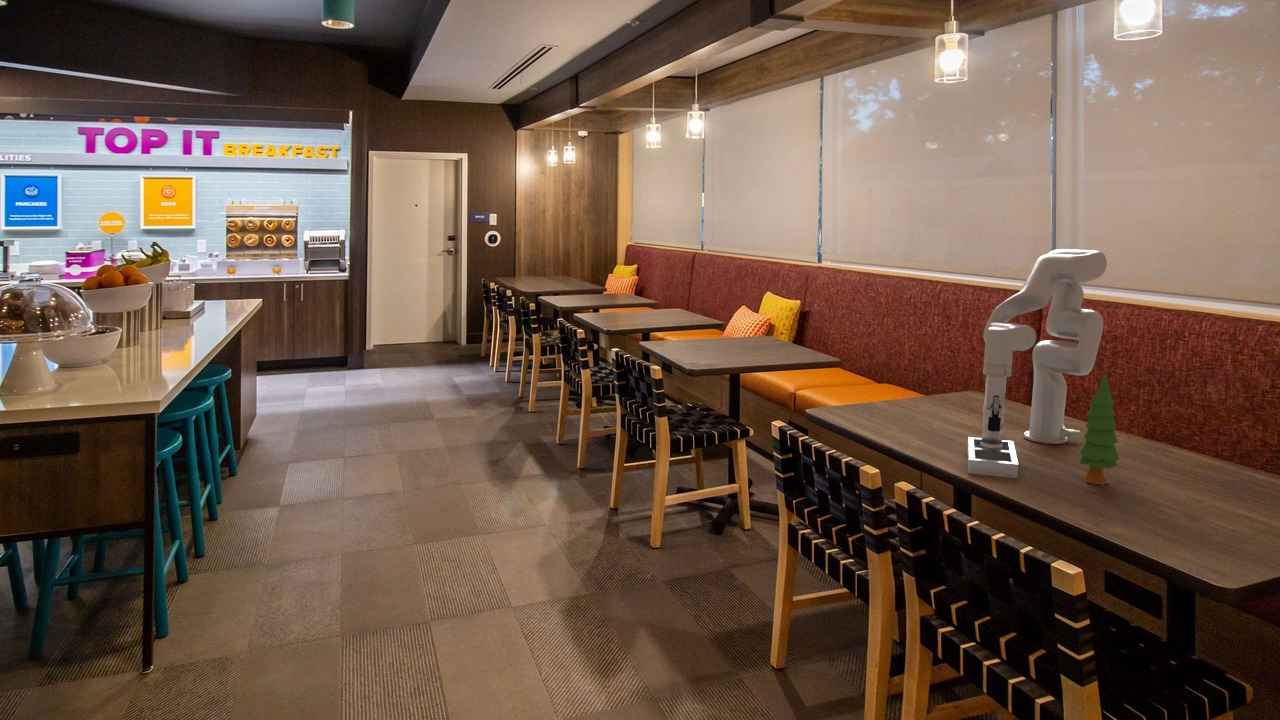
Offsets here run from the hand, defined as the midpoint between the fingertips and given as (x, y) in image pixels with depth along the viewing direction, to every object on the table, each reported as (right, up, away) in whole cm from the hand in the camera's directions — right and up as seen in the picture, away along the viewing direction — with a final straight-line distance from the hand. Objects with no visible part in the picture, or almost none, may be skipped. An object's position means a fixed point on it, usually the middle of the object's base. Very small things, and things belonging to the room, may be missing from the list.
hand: (993, 426), depth 245 cm
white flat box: (-2, -10, -4) cm, 11 cm away
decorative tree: (+19, -14, -20) cm, 31 cm away
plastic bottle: (0, -10, +1) cm, 10 cm away
